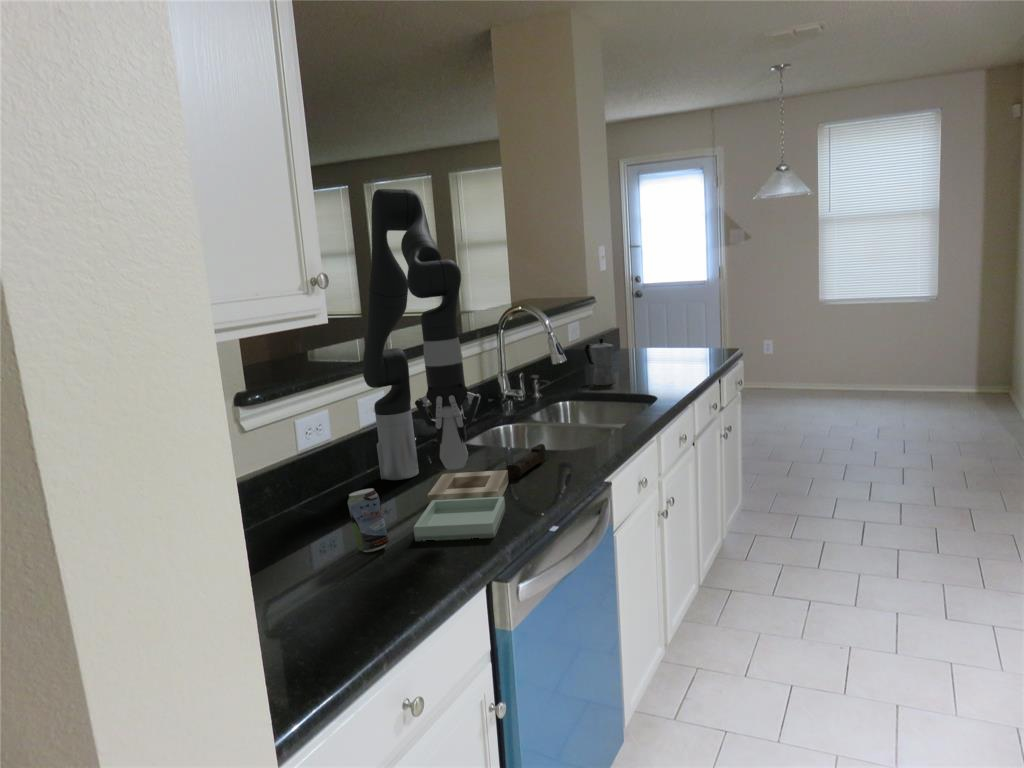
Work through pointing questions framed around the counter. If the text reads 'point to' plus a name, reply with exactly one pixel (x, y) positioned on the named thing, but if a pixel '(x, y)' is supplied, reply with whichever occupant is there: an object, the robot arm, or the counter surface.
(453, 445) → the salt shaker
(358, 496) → the beverage can
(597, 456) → the counter surface
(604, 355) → the coffeepot
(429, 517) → the parts tray
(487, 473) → the holder
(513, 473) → the hand tool
